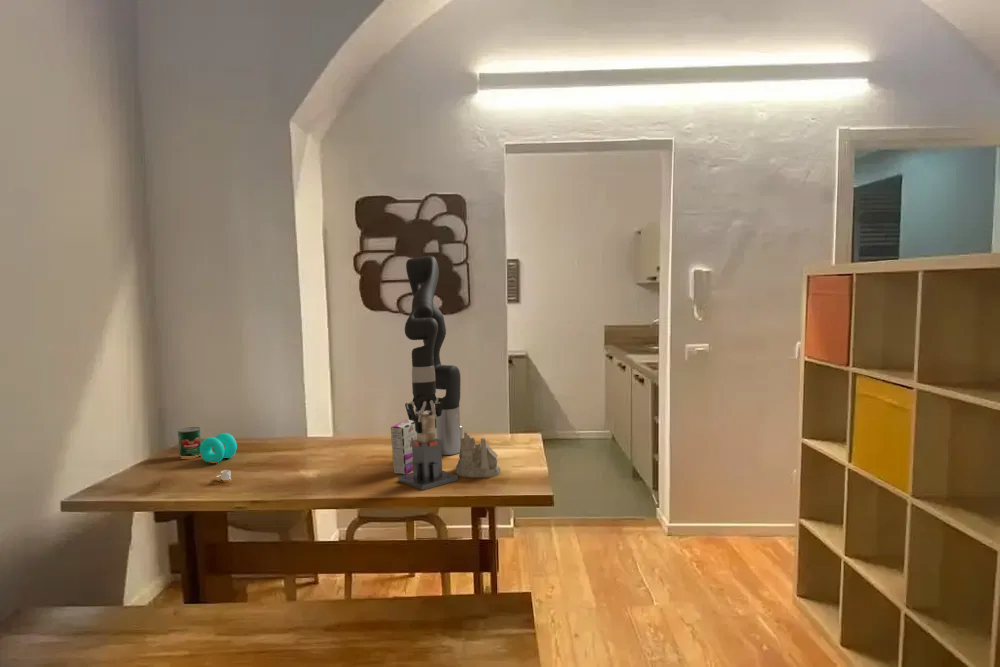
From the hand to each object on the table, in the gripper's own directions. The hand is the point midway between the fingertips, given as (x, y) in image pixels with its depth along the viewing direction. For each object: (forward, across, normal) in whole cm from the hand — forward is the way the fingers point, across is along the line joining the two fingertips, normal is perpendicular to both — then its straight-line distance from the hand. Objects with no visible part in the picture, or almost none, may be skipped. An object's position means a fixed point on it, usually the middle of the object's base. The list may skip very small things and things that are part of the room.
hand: (425, 431), depth 213 cm
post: (+15, 0, 0) cm, 15 cm away
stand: (+16, 0, 0) cm, 16 cm away
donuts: (+17, +41, -79) cm, 91 cm away
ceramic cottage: (+17, -19, +3) cm, 25 cm away
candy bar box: (+17, -2, -16) cm, 23 cm away
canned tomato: (+17, +47, -94) cm, 106 cm away
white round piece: (+17, +46, -51) cm, 71 cm away
